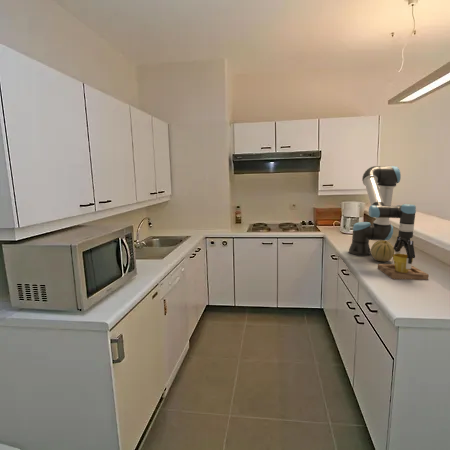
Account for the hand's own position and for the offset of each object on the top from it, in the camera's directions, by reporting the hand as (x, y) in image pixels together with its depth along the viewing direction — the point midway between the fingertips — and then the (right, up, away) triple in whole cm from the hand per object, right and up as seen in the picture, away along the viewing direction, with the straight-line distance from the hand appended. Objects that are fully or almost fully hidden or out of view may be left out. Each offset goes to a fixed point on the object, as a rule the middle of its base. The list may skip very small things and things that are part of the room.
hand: (402, 265), depth 193 cm
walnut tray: (0, -5, +1) cm, 5 cm away
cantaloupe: (+1, -1, +27) cm, 27 cm away
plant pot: (0, -4, +1) cm, 4 cm away
